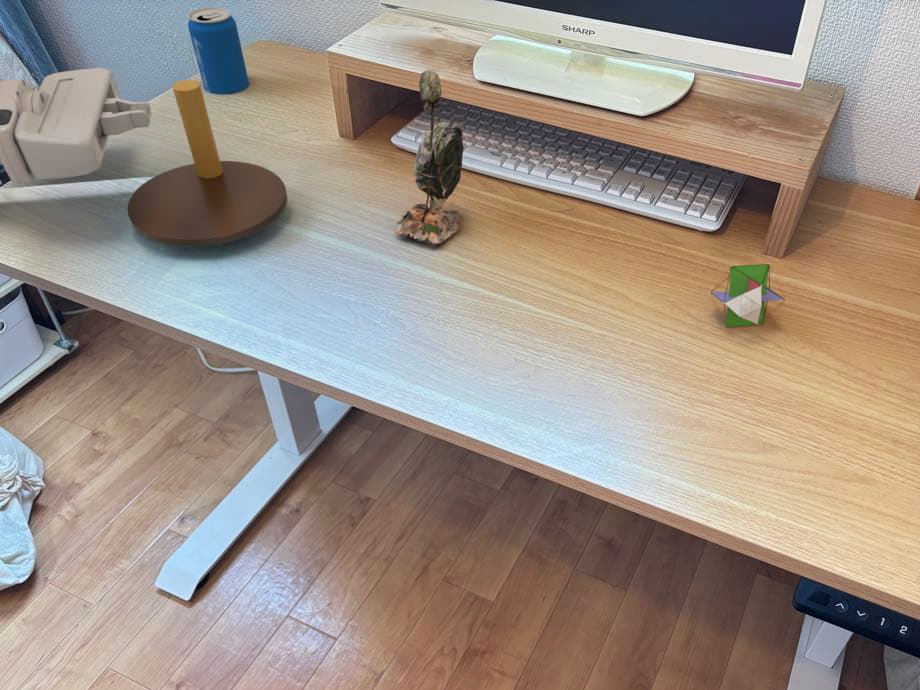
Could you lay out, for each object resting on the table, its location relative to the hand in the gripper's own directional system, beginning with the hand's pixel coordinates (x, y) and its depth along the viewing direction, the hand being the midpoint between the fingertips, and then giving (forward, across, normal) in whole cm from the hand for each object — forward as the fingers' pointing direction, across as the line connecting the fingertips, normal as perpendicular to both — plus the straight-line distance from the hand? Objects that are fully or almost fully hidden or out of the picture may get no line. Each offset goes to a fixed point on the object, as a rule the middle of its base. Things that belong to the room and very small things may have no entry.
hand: (149, 113), depth 92 cm
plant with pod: (+31, +12, -11) cm, 35 cm away
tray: (+5, +6, -9) cm, 12 cm away
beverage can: (+6, -28, -11) cm, 30 cm away
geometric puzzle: (+61, +37, -11) cm, 72 cm away
